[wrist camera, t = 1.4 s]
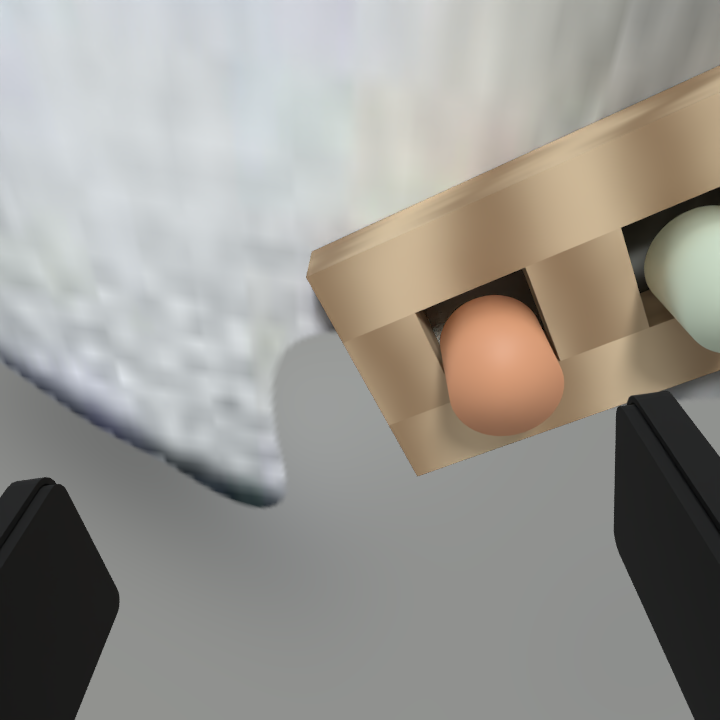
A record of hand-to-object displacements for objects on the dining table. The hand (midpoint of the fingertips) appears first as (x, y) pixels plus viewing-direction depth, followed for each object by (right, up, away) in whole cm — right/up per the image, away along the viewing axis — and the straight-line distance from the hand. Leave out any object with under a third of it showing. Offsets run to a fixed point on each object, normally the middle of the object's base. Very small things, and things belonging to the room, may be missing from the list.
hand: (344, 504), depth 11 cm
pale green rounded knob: (+14, +7, +15) cm, 22 cm away
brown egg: (+6, +3, +18) cm, 19 cm away
